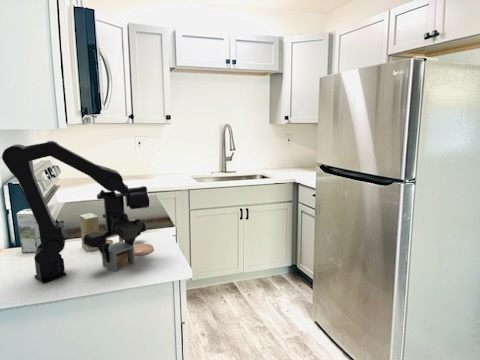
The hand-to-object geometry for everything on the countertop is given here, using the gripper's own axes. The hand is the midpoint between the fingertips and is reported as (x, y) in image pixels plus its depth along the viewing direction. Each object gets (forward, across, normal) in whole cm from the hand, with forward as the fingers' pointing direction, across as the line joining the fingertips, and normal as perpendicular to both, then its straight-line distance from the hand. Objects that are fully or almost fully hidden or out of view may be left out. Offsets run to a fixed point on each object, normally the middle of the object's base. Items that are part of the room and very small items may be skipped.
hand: (118, 258), depth 109 cm
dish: (+2, +11, +4) cm, 12 cm away
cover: (+2, 0, 0) cm, 2 cm away
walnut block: (+2, 0, 0) cm, 2 cm away
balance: (+2, +9, +12) cm, 15 cm away
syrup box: (+2, -11, +35) cm, 37 cm away
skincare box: (+2, +2, +20) cm, 20 cm away
